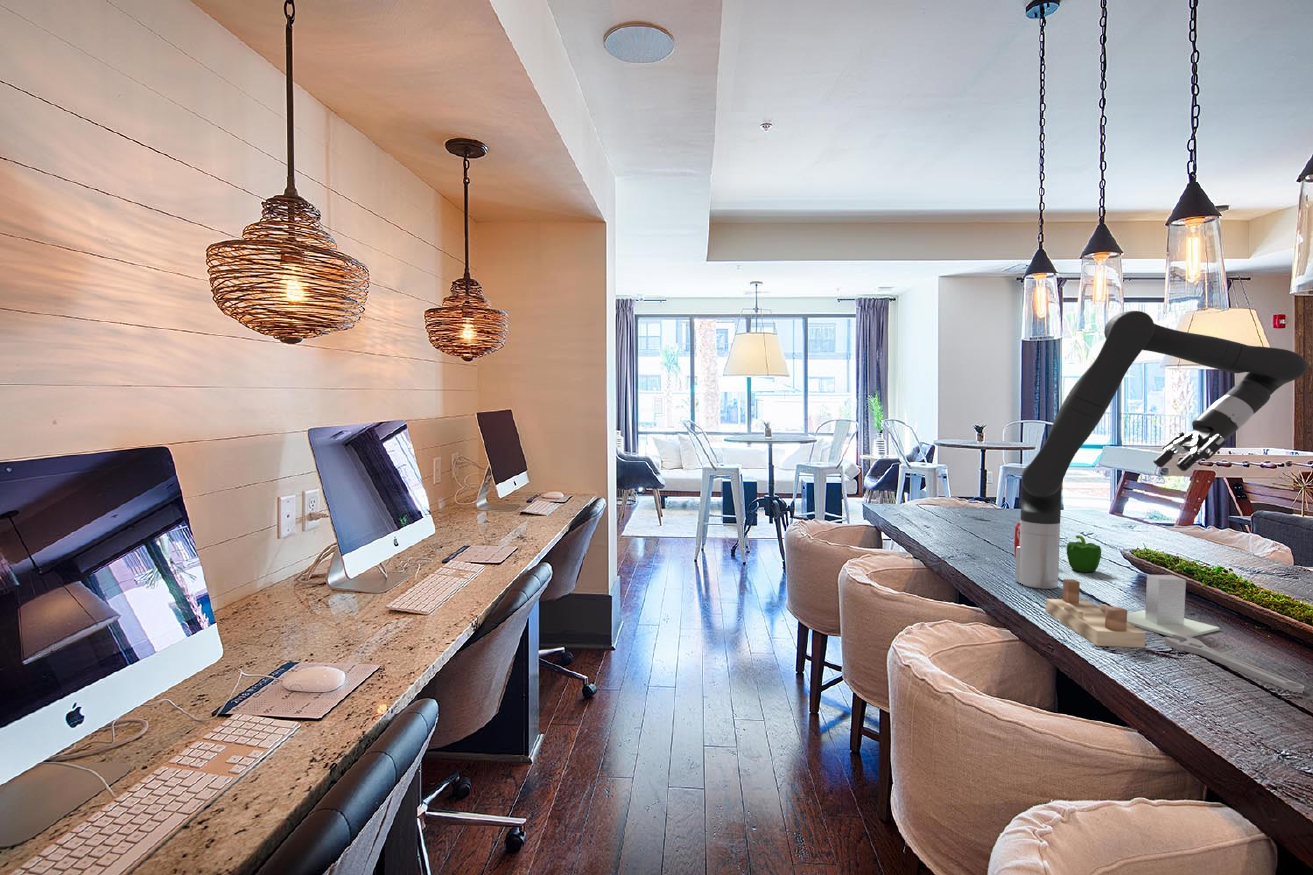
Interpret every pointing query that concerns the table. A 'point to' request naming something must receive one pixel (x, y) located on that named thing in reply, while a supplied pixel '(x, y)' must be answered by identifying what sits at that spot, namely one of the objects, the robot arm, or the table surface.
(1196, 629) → the mat
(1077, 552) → the bell pepper
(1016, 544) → the soda can
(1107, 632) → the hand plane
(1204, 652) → the adjustable wrench
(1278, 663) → the table surface
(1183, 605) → the grey block
